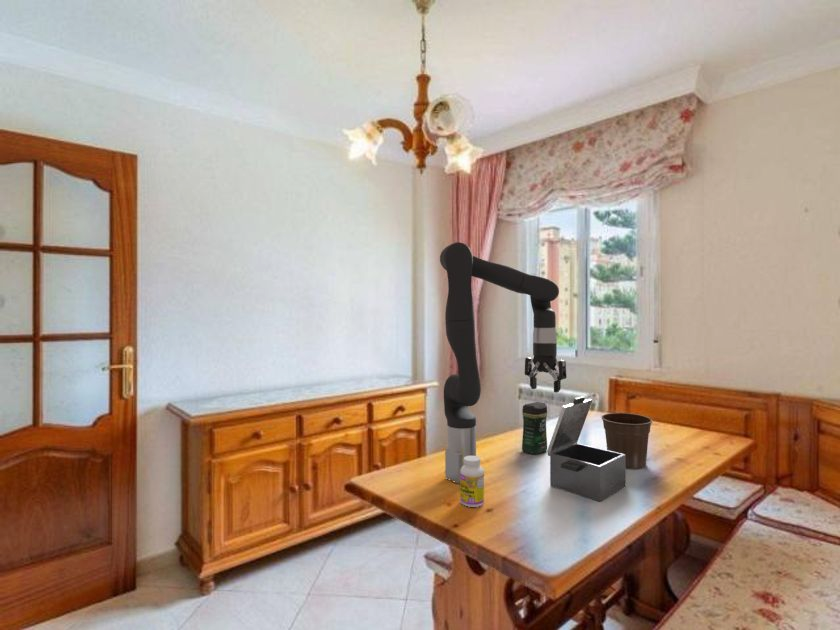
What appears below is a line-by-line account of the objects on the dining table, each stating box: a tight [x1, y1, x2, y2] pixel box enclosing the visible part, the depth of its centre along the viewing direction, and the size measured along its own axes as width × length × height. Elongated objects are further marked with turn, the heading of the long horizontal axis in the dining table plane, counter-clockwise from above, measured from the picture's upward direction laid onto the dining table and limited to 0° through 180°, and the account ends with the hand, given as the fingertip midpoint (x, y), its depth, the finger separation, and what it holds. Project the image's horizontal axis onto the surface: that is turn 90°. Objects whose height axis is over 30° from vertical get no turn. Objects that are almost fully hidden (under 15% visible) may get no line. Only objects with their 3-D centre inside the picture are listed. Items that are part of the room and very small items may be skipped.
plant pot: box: [600, 412, 653, 470], centre depth 161 cm, size 16×16×16 cm
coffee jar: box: [521, 401, 548, 455], centre depth 176 cm, size 10×8×19 cm
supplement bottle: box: [459, 455, 485, 508], centre depth 130 cm, size 7×7×13 cm
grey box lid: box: [546, 395, 593, 457], centre depth 146 cm, size 16×19×2 cm
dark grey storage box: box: [549, 442, 627, 503], centre depth 141 cm, size 22×16×10 cm
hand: (545, 390), depth 152 cm, fingers open, 8 cm apart
